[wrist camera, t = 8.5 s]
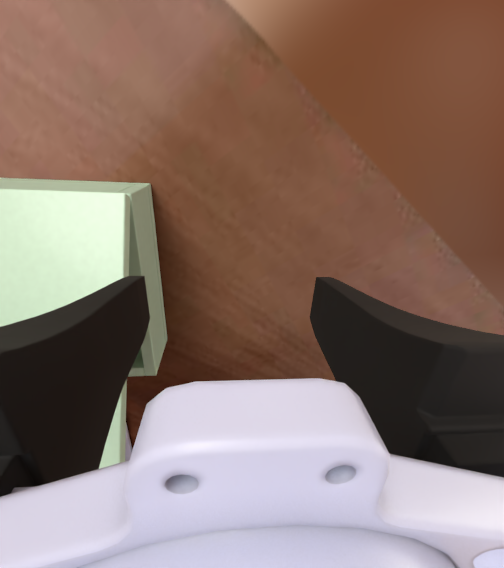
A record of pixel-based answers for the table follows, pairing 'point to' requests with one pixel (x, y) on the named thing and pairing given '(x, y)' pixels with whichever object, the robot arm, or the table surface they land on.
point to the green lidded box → (140, 255)
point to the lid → (63, 262)
